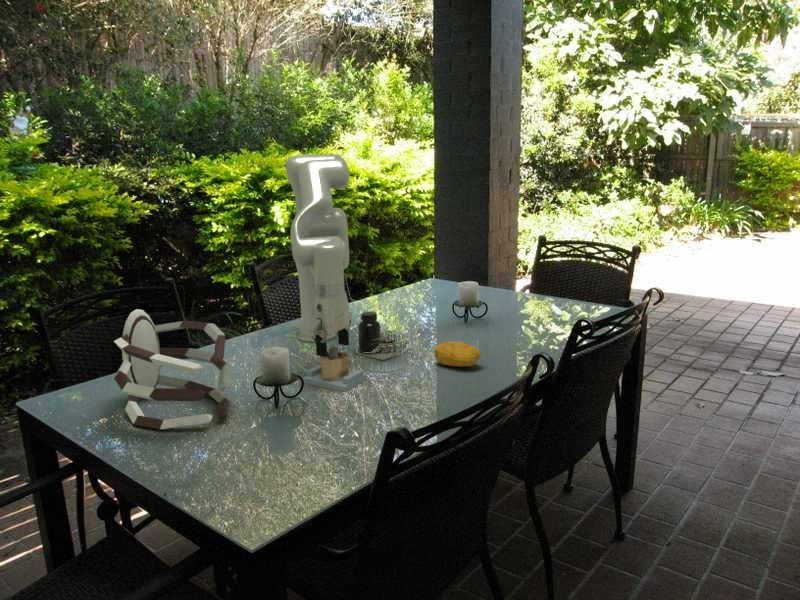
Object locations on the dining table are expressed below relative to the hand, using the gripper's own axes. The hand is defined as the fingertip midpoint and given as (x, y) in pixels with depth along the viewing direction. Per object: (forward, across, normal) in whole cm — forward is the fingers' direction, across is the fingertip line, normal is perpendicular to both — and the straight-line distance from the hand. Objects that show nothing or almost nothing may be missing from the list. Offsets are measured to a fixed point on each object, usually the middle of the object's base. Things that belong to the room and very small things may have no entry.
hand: (333, 350), depth 178 cm
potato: (+9, +25, -25) cm, 36 cm away
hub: (+7, -1, -1) cm, 7 cm away
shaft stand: (+9, -1, -1) cm, 9 cm away
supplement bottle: (+10, +25, +5) cm, 27 cm away
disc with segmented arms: (+9, -35, +23) cm, 43 cm away
